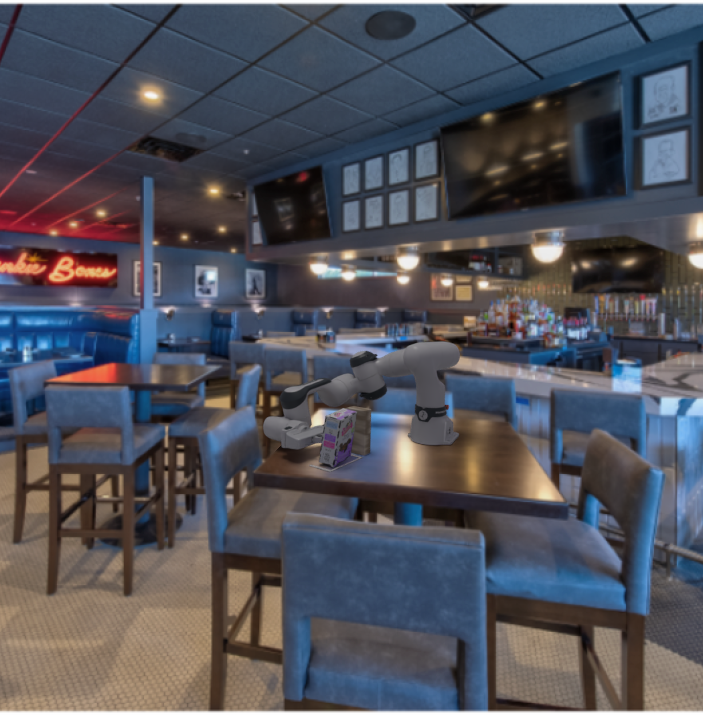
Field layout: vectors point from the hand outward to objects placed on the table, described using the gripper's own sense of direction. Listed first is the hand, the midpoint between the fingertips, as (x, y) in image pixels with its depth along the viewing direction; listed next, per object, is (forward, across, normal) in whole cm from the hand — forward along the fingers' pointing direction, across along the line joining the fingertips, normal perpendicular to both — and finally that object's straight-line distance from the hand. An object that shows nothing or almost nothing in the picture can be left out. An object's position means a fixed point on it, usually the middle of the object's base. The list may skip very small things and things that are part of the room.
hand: (328, 440), depth 159 cm
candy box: (+2, -1, -6) cm, 7 cm away
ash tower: (+3, -13, -7) cm, 15 cm away
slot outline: (+3, 0, -7) cm, 7 cm away
